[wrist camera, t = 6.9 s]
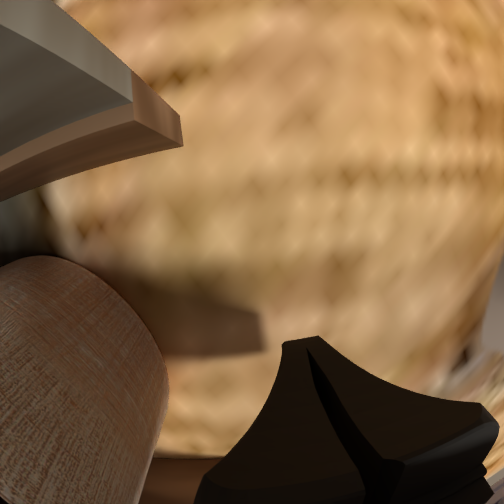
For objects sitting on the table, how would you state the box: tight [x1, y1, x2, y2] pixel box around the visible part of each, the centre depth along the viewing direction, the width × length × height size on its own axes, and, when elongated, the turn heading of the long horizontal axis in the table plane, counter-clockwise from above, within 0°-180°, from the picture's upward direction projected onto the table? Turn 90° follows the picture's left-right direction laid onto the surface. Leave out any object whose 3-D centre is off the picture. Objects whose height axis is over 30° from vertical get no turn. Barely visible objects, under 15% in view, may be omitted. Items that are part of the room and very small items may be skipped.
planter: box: [0, 255, 169, 504], centre depth 7 cm, size 11×11×10 cm
